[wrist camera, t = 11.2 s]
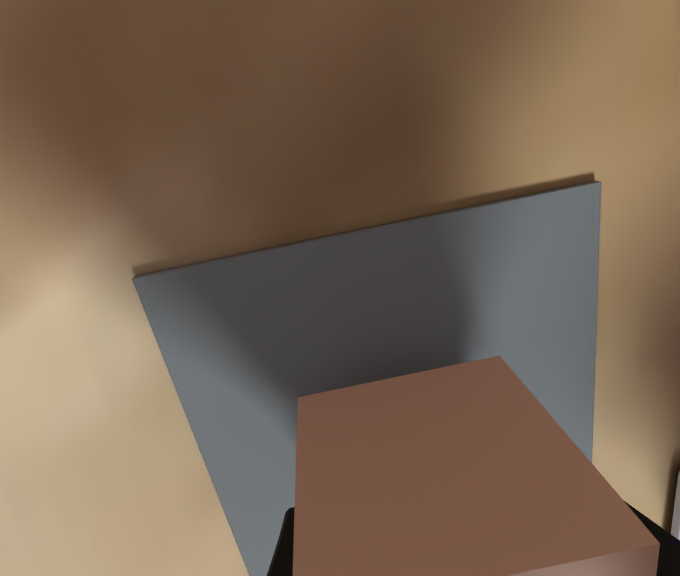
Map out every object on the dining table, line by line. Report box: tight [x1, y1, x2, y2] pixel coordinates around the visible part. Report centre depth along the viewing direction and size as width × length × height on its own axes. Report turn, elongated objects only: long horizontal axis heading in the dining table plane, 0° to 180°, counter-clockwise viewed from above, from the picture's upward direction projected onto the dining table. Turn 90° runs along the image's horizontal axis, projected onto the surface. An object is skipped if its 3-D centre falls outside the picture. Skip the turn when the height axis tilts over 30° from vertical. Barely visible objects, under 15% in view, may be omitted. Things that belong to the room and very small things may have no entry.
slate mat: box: [132, 181, 601, 576], centre depth 13 cm, size 12×12×1 cm
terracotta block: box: [293, 355, 660, 576], centre depth 9 cm, size 5×5×5 cm
